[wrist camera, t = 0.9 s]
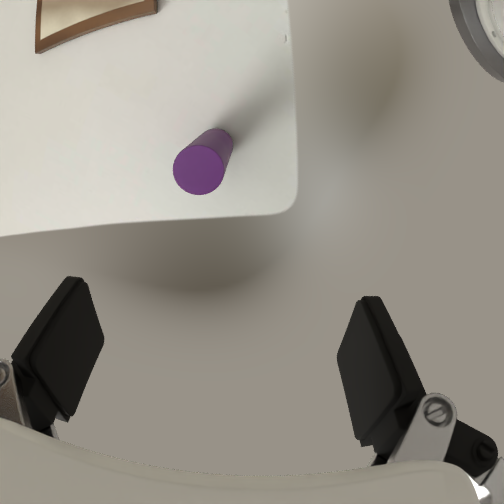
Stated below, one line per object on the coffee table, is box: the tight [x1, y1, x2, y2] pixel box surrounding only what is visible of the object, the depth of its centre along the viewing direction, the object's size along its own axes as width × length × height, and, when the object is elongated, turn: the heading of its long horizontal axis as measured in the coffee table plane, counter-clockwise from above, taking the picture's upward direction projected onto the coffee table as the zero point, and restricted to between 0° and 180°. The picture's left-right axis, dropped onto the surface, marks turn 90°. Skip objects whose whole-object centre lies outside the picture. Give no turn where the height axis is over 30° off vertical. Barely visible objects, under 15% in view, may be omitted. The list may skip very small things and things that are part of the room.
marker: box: [173, 129, 233, 195], centre depth 22 cm, size 3×3×10 cm
